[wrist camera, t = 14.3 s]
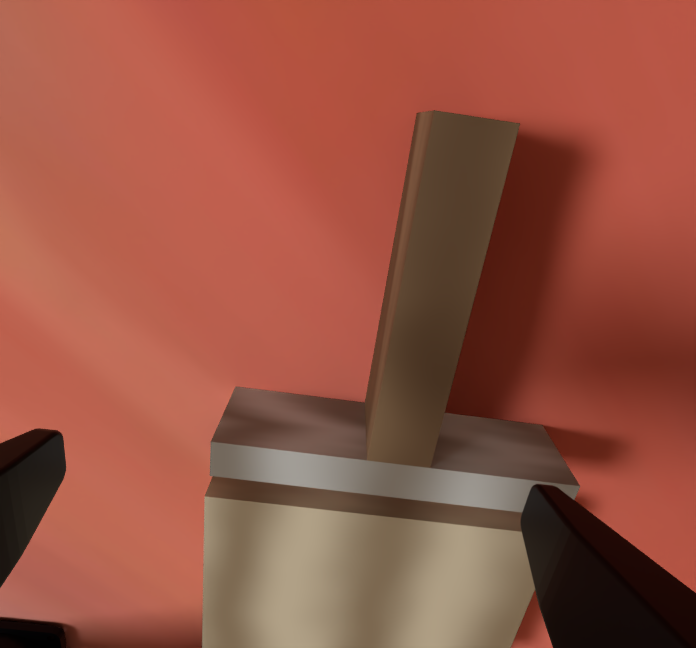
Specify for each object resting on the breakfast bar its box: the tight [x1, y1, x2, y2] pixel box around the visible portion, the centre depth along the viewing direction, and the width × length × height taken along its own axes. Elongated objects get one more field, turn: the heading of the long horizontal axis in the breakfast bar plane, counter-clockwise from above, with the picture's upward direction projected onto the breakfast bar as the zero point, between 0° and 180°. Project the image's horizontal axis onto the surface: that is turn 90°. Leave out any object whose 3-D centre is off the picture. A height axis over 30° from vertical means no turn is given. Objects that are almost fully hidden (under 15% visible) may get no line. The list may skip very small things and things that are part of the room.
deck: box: [202, 476, 535, 648], centre depth 23 cm, size 15×11×3 cm
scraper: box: [210, 110, 580, 512], centre depth 17 cm, size 14×14×4 cm
